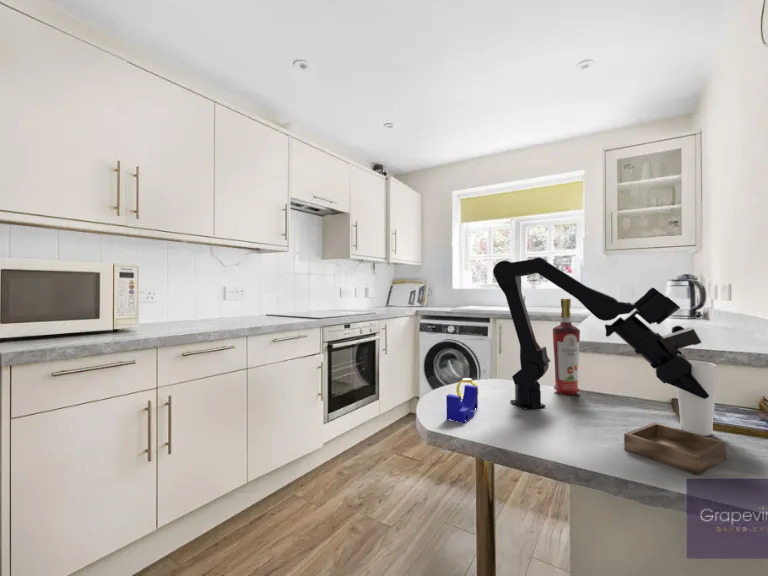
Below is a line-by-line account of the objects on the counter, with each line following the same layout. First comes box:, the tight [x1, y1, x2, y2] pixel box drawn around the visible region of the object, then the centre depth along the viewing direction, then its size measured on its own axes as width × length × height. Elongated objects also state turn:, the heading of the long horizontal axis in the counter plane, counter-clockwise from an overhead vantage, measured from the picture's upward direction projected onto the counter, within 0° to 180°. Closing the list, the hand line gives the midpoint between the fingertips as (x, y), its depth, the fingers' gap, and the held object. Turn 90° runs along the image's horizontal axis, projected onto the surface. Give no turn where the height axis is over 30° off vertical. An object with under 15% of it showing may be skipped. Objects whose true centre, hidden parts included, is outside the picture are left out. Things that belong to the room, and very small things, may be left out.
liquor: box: [552, 298, 581, 396], centre depth 109 cm, size 7×7×28 cm
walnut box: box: [623, 422, 727, 476], centre depth 69 cm, size 12×12×3 cm
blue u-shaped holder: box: [445, 384, 479, 424], centre depth 92 cm, size 12×4×6 cm, turn 144°
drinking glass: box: [676, 359, 718, 437], centre depth 79 cm, size 7×7×15 cm
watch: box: [456, 377, 478, 398], centre depth 103 cm, size 6×3×6 cm, turn 57°
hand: (704, 393), depth 78 cm, fingers closed on drinking glass, 6 cm apart
